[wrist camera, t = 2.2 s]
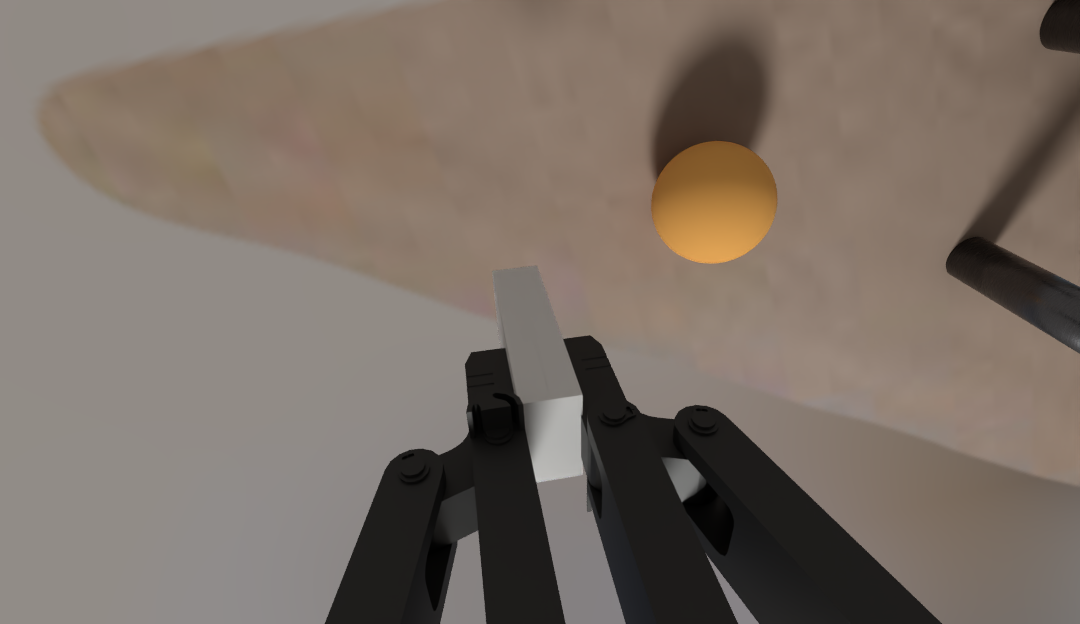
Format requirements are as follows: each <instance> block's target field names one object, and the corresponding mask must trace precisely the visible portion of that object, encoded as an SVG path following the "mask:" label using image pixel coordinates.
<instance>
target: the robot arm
mask: <svg viewBox="0 0 1080 624" xmlns="http://www.w3.org/2000/svg"><path fill="white" fill-rule="evenodd" d="M492 275H493V285H494V295H495V304H496V314H497V324H498V333H499V341H500V346H501V349H494V350H486V351H479V352H471V354H470V356H469V358H468V360H467V362H466V363H465V369H466V380H467V392H468V406H467V412H466V414H467V420H468V426H469V433H468V435H467V437H466V438H465V439H464V441H463V442H462V443H461V444H460V445H458V446H457V447H455V448H453V449H452V450H450V451H448V452H445V453H443V454H441V455H437V454H436V453H434V452H433V451H431V450H425V449H414V450H409V451H407V452H404V453H402V454H399V455H398V456H397V457H396V458H394V459H393V460H392V461H390V463H389V465H388V466H387V468H386V469H385V471H384V474H383V476H382V479H381V482H380V484H379V487H378V489H377V492H376V494H375V497H374V499H373V502H372V504H371V507H370V510H369V512H368V515H367V517H366V520H365V522H364V525H363V527H362V530H361V533H360V535H359V538H358V541H357V543H356V546H355V548H354V550H353V553H352V556H351V558H350V561H349V563H348V566H347V569H346V571H345V574H344V576H343V579H342V581H341V584H340V587H339V589H338V591H337V594H336V597H335V599H334V602H333V604H332V607H331V609H330V612H329V615H328V617H327V620H326V622H325V624H440V621H441V617H442V612H443V608H444V603H445V598H446V594H447V589H448V585H449V580H450V576H451V571H452V567H453V562H454V557H455V553H456V548H457V540H459V539H461V538H463V537H465V536H467V535H469V534H471V533H473V532H476V531H477V530H478V531H479V544H480V555H481V567H482V577H483V589H484V600H485V612H486V623H487V624H565V620H564V614H563V610H562V605H561V600H560V595H559V590H558V585H557V580H556V576H555V571H554V567H553V561H552V557H551V552H550V547H549V542H548V537H547V532H546V527H545V523H544V518H543V513H542V508H541V504H540V499H539V495H538V489H537V484H536V483H537V482H543V481H549V480H555V479H561V478H567V477H573V476H579V475H583V465H584V468H585V472H586V475H587V512H590V511H592V510H593V513H594V517H595V520H596V523H597V527H598V530H599V534H600V537H601V540H602V544H603V547H604V551H605V554H606V558H607V561H608V564H609V567H610V571H611V575H612V578H613V581H614V585H615V588H616V592H617V595H618V598H619V602H620V605H621V609H622V612H623V616H624V619H625V622H626V624H738V623H737V620H736V618H735V616H734V614H733V612H732V610H731V607H730V605H729V603H728V601H727V599H726V597H725V594H724V592H723V590H722V588H721V586H720V584H719V582H718V579H717V577H716V575H715V573H714V571H713V569H712V566H711V564H710V562H709V560H708V558H707V556H708V557H709V558H710V559H711V561H712V562H713V563H714V565H715V566H716V567H717V569H718V570H719V571H720V573H721V574H722V575H723V577H724V578H725V579H726V581H727V582H728V583H729V584H730V586H731V587H732V588H733V590H734V591H735V592H736V594H737V595H738V596H739V598H740V599H741V600H742V602H743V603H744V604H745V605H746V607H747V608H748V609H749V611H750V612H751V613H752V615H753V616H754V617H755V619H756V620H757V621H758V622H759V624H942V623H941V622H940V621H939V620H938V619H937V618H936V617H934V616H933V615H932V614H931V613H930V612H929V611H928V610H927V609H926V608H925V607H924V606H923V605H922V604H921V603H920V602H919V601H918V600H917V599H916V598H915V597H914V596H913V595H912V594H911V593H910V592H909V591H907V590H906V589H905V588H904V587H903V586H902V585H901V584H900V583H899V582H898V581H897V580H896V579H895V578H894V577H893V576H892V575H891V574H890V573H889V572H888V571H887V570H886V569H885V568H884V567H882V566H881V565H880V564H879V563H878V562H877V561H876V560H875V559H874V558H873V557H872V556H871V555H870V554H869V553H868V552H867V551H866V550H865V549H864V548H863V547H862V546H861V545H859V544H858V543H857V542H856V541H855V540H854V539H853V538H852V537H851V536H850V535H849V534H848V533H847V532H846V531H845V530H844V529H843V528H842V527H841V526H840V525H839V524H838V523H837V522H836V521H835V520H834V519H832V518H831V517H830V516H829V515H828V514H827V513H826V512H825V511H824V510H823V509H822V508H821V507H820V506H819V505H818V504H817V503H816V502H815V501H814V500H813V499H812V498H811V497H810V496H809V495H808V494H806V492H804V491H803V490H802V489H801V488H800V487H799V486H798V485H797V484H796V483H795V482H794V481H793V480H792V479H791V478H790V477H789V476H788V475H787V474H786V473H785V472H784V471H783V470H781V468H779V467H778V466H777V465H776V464H775V463H774V462H773V461H772V460H771V459H770V458H769V457H768V456H767V455H766V454H765V453H764V452H763V451H762V450H761V449H760V448H759V447H758V446H757V445H756V444H755V443H753V442H752V441H751V440H750V439H749V438H748V437H747V436H746V435H745V434H744V433H743V432H742V431H741V430H740V429H739V428H738V427H737V426H736V425H735V424H734V423H733V422H732V421H731V420H729V419H728V418H727V417H726V416H725V415H724V414H722V413H721V412H719V411H718V410H716V409H714V408H711V407H708V406H700V405H694V406H689V407H685V408H684V409H682V410H680V411H679V412H678V413H677V415H676V417H675V419H666V418H657V417H651V416H647V415H645V414H642V413H640V411H639V410H638V409H637V408H636V406H635V405H633V404H631V403H630V402H628V401H627V400H626V398H625V396H624V394H623V391H622V389H621V387H620V385H619V382H618V380H617V378H616V376H615V373H614V371H613V369H612V367H611V364H610V362H609V360H608V358H607V356H606V353H605V351H604V349H603V347H602V345H601V344H600V343H599V342H598V341H597V340H595V339H594V338H593V337H592V336H590V335H589V336H582V337H574V338H567V339H563V338H562V335H561V332H560V329H559V326H558V324H557V321H556V318H555V315H554V312H553V309H552V307H551V304H550V301H549V298H548V295H547V292H546V290H545V287H544V284H543V281H542V278H541V275H540V273H539V270H538V267H537V266H529V267H521V268H512V269H504V270H495V271H492ZM591 509H592V510H591ZM706 554H707V556H706Z"/></svg>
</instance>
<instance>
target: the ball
mask: <svg viewBox="0 0 1080 624" xmlns="http://www.w3.org/2000/svg"><path fill="white" fill-rule="evenodd" d="M776 208H777V189H776V184H775V181H774V178H773V175H772V173H771V171H770V169H769V168H768V167H767V165H766V164H765V163H764V161H763V160H762V159H761V158H760V157H759V156H758V155H757V154H755V153H754V152H753V151H751V150H750V149H748V148H746V147H744V146H741V145H739V144H736V143H732V142H725V141H710V142H704V143H700V144H697V145H694V146H692V147H689V148H687V149H686V150H684V151H682V152H681V153H679V154H678V155H677V156H675V157H674V158H673V159H672V160H671V161H670V162H669V163H668V164H667V165H666V166H665V168H664V169H663V171H662V172H661V174H660V175H659V177H658V179H657V181H656V184H655V186H654V190H653V194H652V205H651V211H652V217H653V221H654V224H655V227H656V230H657V232H658V234H659V235H660V237H661V238H662V240H663V241H664V242H665V243H666V245H667V246H668V247H669V248H670V249H672V250H673V251H674V252H675V253H677V254H679V255H680V256H682V257H684V258H686V259H689V260H692V261H695V262H700V263H721V262H726V261H729V260H733V259H736V258H738V257H740V256H742V255H744V254H746V253H747V252H749V251H750V250H751V249H753V248H754V247H755V246H756V245H757V244H758V243H759V242H760V241H761V240H762V239H763V238H764V236H765V235H766V233H767V232H768V230H769V229H770V227H771V225H772V222H773V220H774V216H775V213H776Z"/></svg>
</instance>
